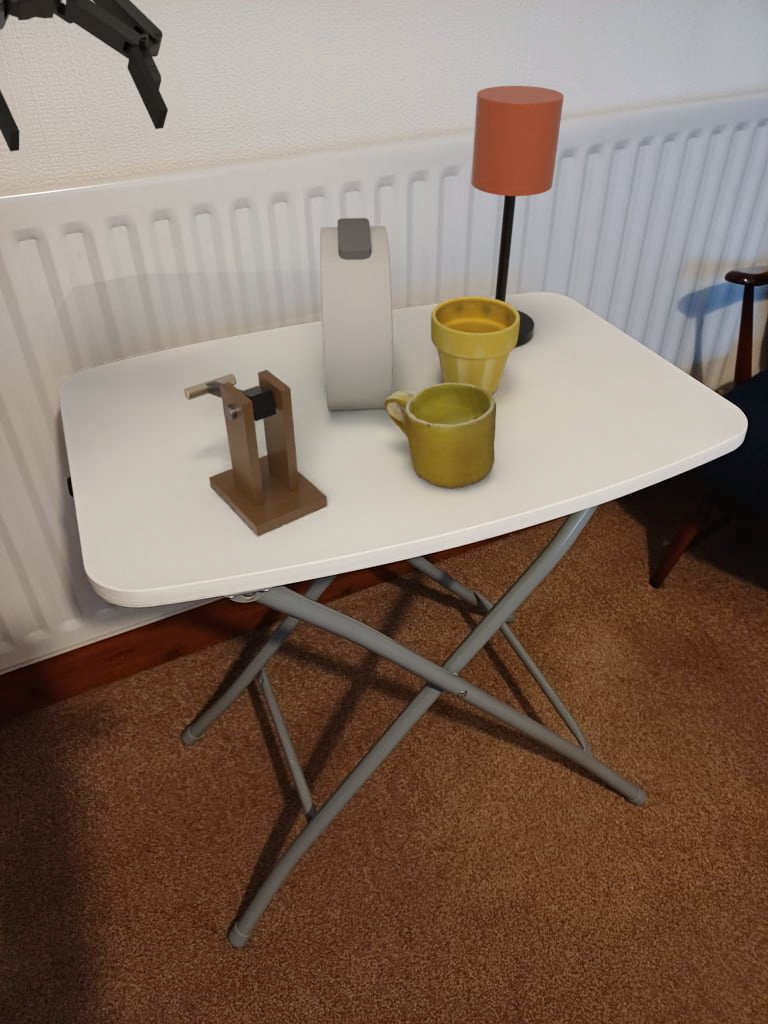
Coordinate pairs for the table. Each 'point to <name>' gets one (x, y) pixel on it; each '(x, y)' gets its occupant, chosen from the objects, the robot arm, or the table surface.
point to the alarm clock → (356, 314)
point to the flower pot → (474, 339)
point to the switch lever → (257, 394)
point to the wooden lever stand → (264, 462)
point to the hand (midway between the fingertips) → (91, 130)
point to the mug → (447, 431)
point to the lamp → (515, 159)
